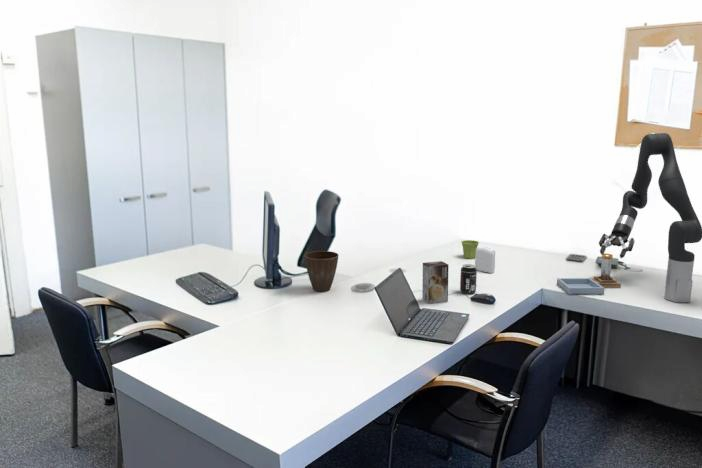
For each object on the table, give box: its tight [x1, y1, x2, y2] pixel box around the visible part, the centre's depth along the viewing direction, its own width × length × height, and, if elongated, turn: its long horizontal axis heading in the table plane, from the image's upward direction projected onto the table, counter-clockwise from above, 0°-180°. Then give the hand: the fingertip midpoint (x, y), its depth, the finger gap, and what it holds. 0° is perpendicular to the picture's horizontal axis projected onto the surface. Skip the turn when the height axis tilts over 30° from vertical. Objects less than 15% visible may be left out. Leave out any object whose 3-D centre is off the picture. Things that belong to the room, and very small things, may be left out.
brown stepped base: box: [588, 275, 622, 289], centre depth 260 cm, size 10×10×3 cm
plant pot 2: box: [460, 239, 480, 260], centre depth 309 cm, size 9×9×9 cm
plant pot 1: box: [304, 250, 339, 293], centre depth 254 cm, size 15×15×16 cm
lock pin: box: [599, 253, 614, 280], centre depth 258 cm, size 4×4×12 cm
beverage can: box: [459, 263, 478, 295], centre depth 249 cm, size 7×7×12 cm
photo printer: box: [474, 245, 496, 274], centre depth 282 cm, size 10×4×12 cm, turn 39°
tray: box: [556, 277, 606, 296], centre depth 253 cm, size 15×15×3 cm
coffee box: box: [421, 260, 449, 304], centre depth 238 cm, size 9×6×16 cm
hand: (611, 255), depth 261 cm, fingers open, 8 cm apart
